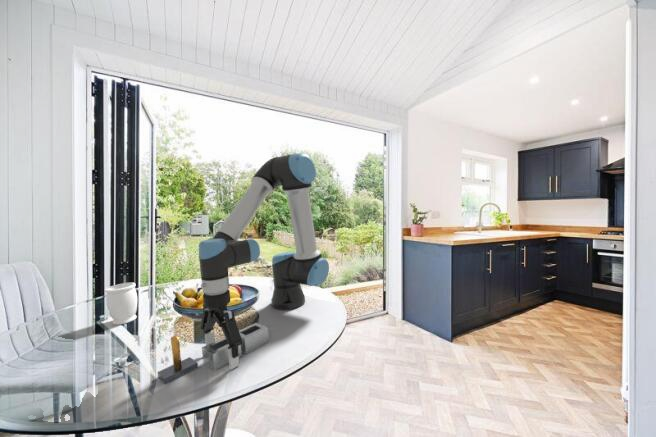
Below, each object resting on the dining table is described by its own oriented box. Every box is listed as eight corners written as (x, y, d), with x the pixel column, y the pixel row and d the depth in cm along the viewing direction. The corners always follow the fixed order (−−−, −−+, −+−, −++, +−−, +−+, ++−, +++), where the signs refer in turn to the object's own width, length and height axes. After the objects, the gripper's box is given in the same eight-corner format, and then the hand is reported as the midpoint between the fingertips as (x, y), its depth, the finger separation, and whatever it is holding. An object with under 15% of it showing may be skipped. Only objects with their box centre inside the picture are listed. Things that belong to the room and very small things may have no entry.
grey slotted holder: (257, 336, 101) (256, 322, 101) (268, 341, 97) (267, 327, 97) (234, 347, 94) (233, 333, 94) (246, 354, 90) (244, 338, 90)
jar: (124, 326, 115) (119, 290, 114) (102, 326, 118) (98, 290, 116) (145, 315, 126) (141, 282, 124) (125, 314, 128) (121, 282, 127)
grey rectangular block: (230, 349, 93) (229, 335, 93) (241, 356, 89) (240, 340, 89) (203, 363, 86) (201, 347, 86) (214, 371, 82) (212, 354, 82)
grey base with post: (190, 361, 88) (186, 328, 87) (198, 367, 84) (194, 333, 83) (158, 377, 81) (153, 341, 80) (165, 384, 78) (160, 346, 77)
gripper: (184, 287, 91) (191, 352, 93) (227, 303, 75) (233, 381, 77) (207, 281, 97) (213, 342, 98) (251, 295, 81) (257, 367, 82)
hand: (222, 359), depth 88 cm, fingers open, 13 cm apart
